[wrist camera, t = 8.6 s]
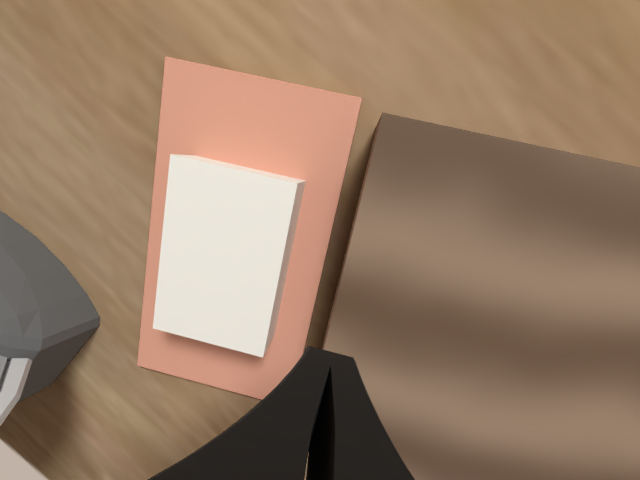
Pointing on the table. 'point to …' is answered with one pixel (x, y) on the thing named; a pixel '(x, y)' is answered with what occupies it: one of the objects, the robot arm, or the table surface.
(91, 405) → the table surface
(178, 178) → the tile
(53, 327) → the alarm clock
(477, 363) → the plate
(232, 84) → the mat
